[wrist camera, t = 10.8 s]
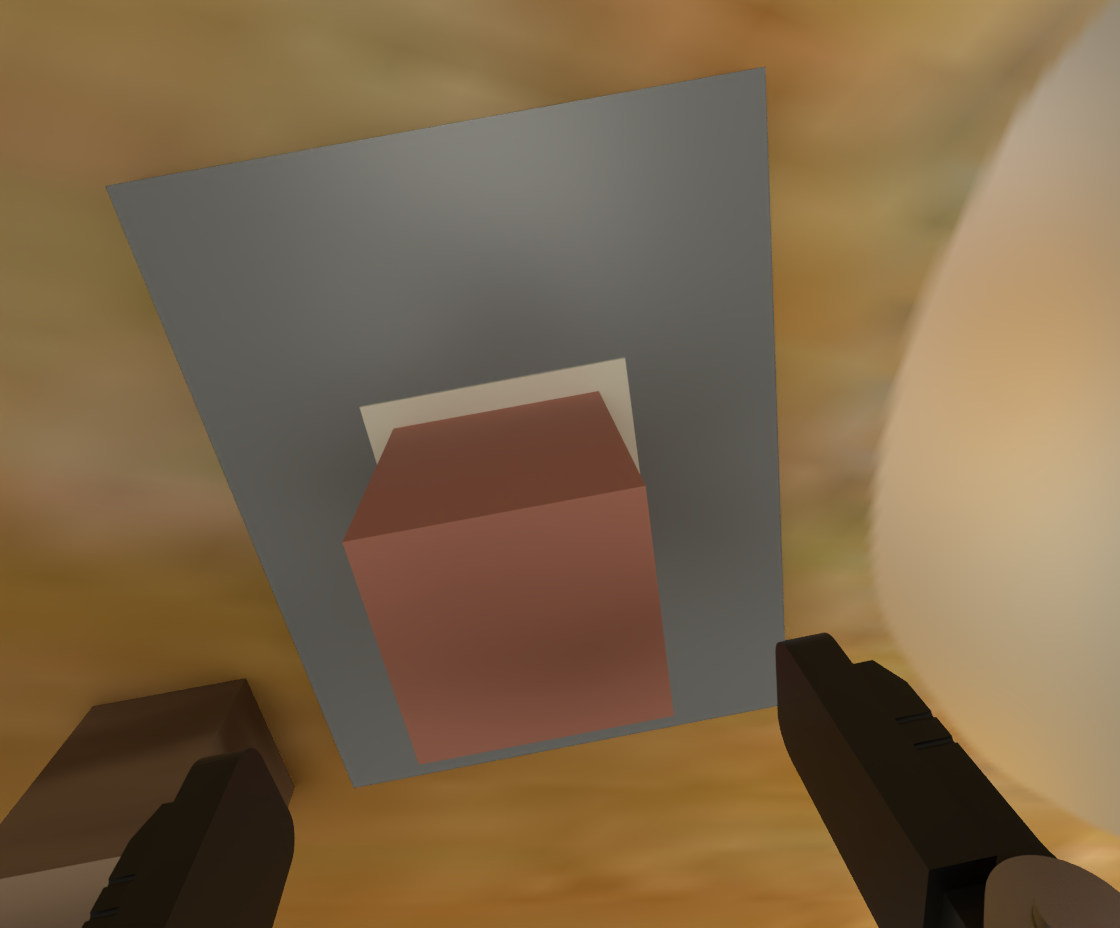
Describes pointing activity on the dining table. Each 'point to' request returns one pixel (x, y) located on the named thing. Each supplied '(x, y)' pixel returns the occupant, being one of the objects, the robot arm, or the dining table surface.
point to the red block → (512, 578)
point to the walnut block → (115, 794)
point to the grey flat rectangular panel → (491, 356)
